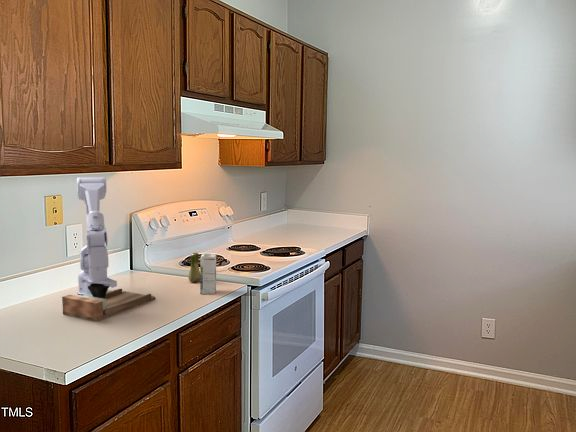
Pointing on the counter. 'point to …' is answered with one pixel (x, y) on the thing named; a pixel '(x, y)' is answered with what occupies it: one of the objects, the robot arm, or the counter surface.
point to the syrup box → (208, 274)
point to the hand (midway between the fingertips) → (99, 305)
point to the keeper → (97, 299)
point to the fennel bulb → (194, 269)
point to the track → (119, 303)
